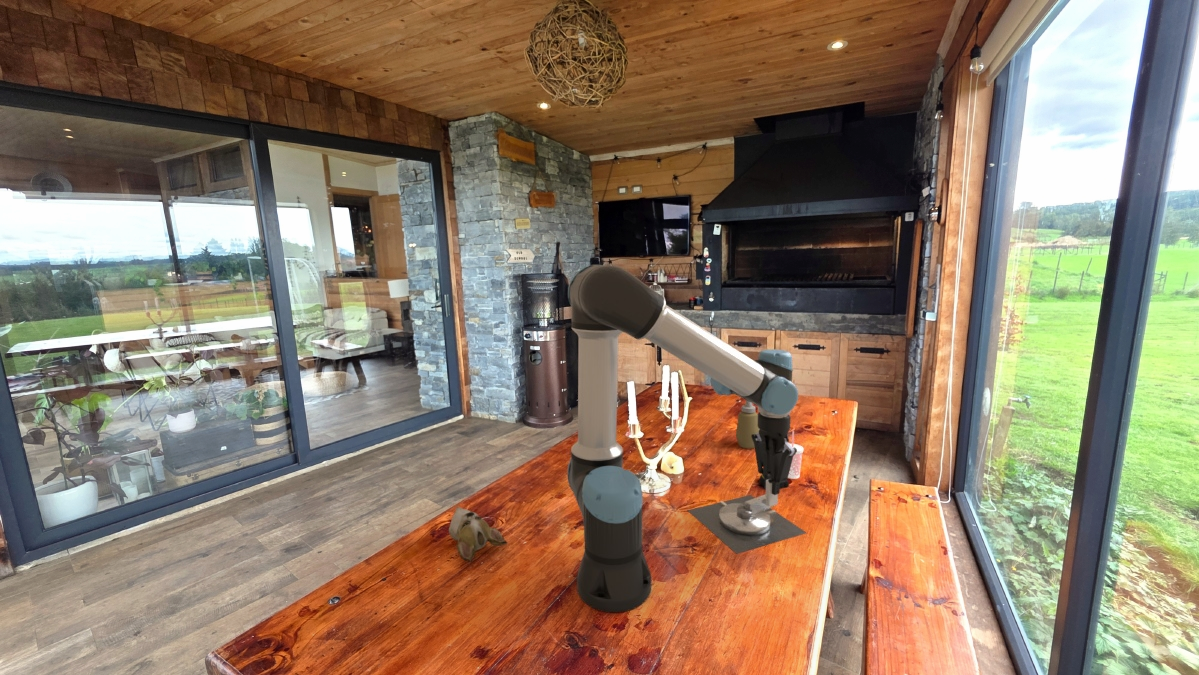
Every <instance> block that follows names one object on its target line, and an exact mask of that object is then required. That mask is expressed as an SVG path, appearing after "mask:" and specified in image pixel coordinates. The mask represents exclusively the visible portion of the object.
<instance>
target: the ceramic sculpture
mask: <svg viewBox="0 0 1199 675" xmlns="http://www.w3.org/2000/svg"><path fill="white" fill-rule="evenodd" d="M448 532H449V535H450V537H451V538H452V539H453V540H455V541H457V543H456V550H457V552H458V554H459V556H460V558H462V560H464V561H466V562H470V563H471V562H472V560H473V559H474V557H475V555H476V551H478V550H481V549H483V548H484V547H486V546H487V543H490V545H492V546H493V547H494V546H495V547H499V546H505V545H508V542H507V540H505V538H504V536H503V535H502V533H501V531H499V530H498V529H497V528H496V527H493V526H492V527H491V526H489V524H488V522H487V521H485V519H484V518H482V517H481V516H479V515H478V514H477V513H476V512H474V511H470V510H468V509H467V508H466V509H465V508H462V507H460V506H457V507H456V509H455V511H454V513H453V516H452V518H451V521H450V524H449V528H448Z"/></svg>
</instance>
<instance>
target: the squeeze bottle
mask: <svg viewBox="0 0 1199 675" xmlns="http://www.w3.org/2000/svg"><path fill="white" fill-rule="evenodd" d="M756 409H757V408H756V405H754V404H753V403H751V402H749V401H747V400H745V403H744V404H743V405H741V411H739V412H738V416H737V425H736V432H735V437H736V438H735V439H737V444H738V445H739V447H741V448H743V449H748V450H749V449H750V450H751V449H755V447H754V442H753V440H752V437H751V435H752V434H757V433H759V428H758V425H757V424H758V413H757V412H756Z"/></svg>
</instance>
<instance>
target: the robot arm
mask: <svg viewBox="0 0 1199 675" xmlns="http://www.w3.org/2000/svg"><path fill="white" fill-rule="evenodd" d="M567 299H568V302H569V305H570V307H571V329H572V331H573V332H574V333H575V334H577V337H578V360H577V362H578V367H577V368H578V371H577V372H578V373H577V374H578V375H577V376H578V378H577V379H578V381H577V382H578V385H577V388H578V389H577V390H578V392H577V395H578V396H577V398H578V399H577V401H578V402H577V407H578V408H577V414H578V415H577V441H576V442H575V443H574V444H573V445H572V446H571V448H570V449H571V450H570V452H571V453H570V460H569V462H568V465H567V473H566V474H567V481H568V482H567V483H568V486H569V488H570V490H571V491H572V494H573V496H574V497H575V500H576V503H577V506H578V509H579V511H580V513H581V516H582V520H583V521H582V522H583V535H584V536H583V537H584V539H583V541H584V542H583V543H584V552H583V556H582V558H581V561H580V565H579V569H578V570H577V575H576V587H577V588H576V589H577V594H578V597H580V599H581V600H582V601H583V602H584V603H585V604H586V605H587V606H590V607H591V608H592V609H595V610H598V611H601V612H605V613H606V612H607V613H622V612H628V611H631V610H634V609H636V608H637V607H639V606H642V604H644V603H645V602H646V601H647V600H648V598H649V597H650V594H651V591H652V573H651V571H650V568H649V566H648V562H647V560H646V557H645V554H644V552H643V502H644V496H643V491H642V484H641V481H640V479H639V478H638V476H637V475H636V474H635V473H634V472H633V471H631V470H629V469H624V468H623V462H624V461H623V460H624V459H623V457H624V454H623V453H624V448H623V447H622V445H620V443H618V442H617V427H618V426H617V423H618V422H617V421H618V420H617V416H618V414H617V413H618V374H619V373H618V366H619V364H618V363H619V362H618V361H619V358H618V357H619V336H620V335H621V334H622V333H625V334H627V335H628V336H630V337H632V338H633V339H636V340H638V341H639V340H643V339H645V340H647V341H649V342H651V343H652V344H654V345H655V346H657V347H659V348H661V349H662V350H664V351H665V352H667V353H668V354H671V355H673V356H674V357H676V358H678V359H679V360H681V361H683V362H684V363H686V364H687V365H689V366H690V367H693V368H694V369H696V370H697V371H699V372H701V373H703V374H704V375H706V376H708V378H710V381H711V382H710V383H711V387H712V389H713V390H714V392H715V393H716V394H717V395H718V396H731V395H733V396H734V395H735V396H737V397H739V398H741V399H743V400H745V401H746V400H747V401H749V402H751V403H752V405H754V406H757V412H758V413H757V414H758V424H757V425H758V428H759V433H757V434H752V435H751V437H752V440H753V442H754V447H755V448H754V451H755V459H756V465H757V466H756V467H757V471H758V473H759V474H761V475H762V474H763V477H764V478H765V481H764V486H763V488H764V490H765V494H766V504H765V505H767V506H769V507H771V506H774V507H775V506H777V505H778V502H779V501H778V498H779V495H780V490H781V489H780V483H781V482H785V481H788V479H789V478H788V475H789V471H790V467H791V463H792V460H793V456H794V455H795V454H796V452H797V449H796V448H795V447H794V448H792V447H791V445H790V444H791V443H790V440H789V435H788V434H789V432H790V429H791V415H790V414H791V412H792V410H794V408H795V407H796V405H797V403H798V400H799V392H798V391H799V390H798V388H797V386H796V385H795V383H793V371H794V369H793V356H792V354H791V353H790V351H787V350H784V349H775V348H774V349H771V348H769V349H762V350H761V351H759V354H758V359H752V358H750V357H749V356H747V355H746V354H744V353H743V352H741V351H740V350H738V349H737V348H735V347H734V346H731V345H730V344H728V343H727V342H725V341H724V340H722V339H721V338H719V337H718V336H716V335H714V334H713V333H711V332H709V331H708V330H706V329H705V328H703V327H702V326H700V325H698V324H697V323H695V322H693V321H692V320H690V319H689V318H688V317H686V316H684V315H683V314H681V313H680V312H678V311H677V310H675V309H673V308H671V307H670V306H669V305H667V301H666V298H665V297H664V296H663V295H661V294H660V293H658V292H657V291H656V290H654V289H653V288H651V287H650V286H648V285H647V284H646V283H644V282H643V281H641V280H640V279H639V278H638V277H636V275H634V274H632V273H631V272H630V271H628V270H626V269H624V268H623V267H621V266H617V265H612V264H610V265H608V264H607V265H605V264H590V265H588V266H585V267H583V268H581V269H579V271H577V272H575V274H574V275H573V277H572V278H571V280H570V281H569V284H568V287H567ZM789 443H790V444H789ZM771 508H772V507H771Z"/></svg>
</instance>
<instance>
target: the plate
mask: <svg viewBox="0 0 1199 675" xmlns="http://www.w3.org/2000/svg"><path fill="white" fill-rule="evenodd" d="M754 498H755V496H753V495H751V494H749V495H745V496H740V497H736V498H732V499H729V500H725V501H723V500H719V502H716V503H712V504H709V505H704V506H700V507H696V508H691V509H688V510H687V512H688V513H689V514H691V516H693V517H694V518H695V519H696V520H697V521H699V522H700V523H701V524H702V525H703V526H704V527H706V528H707V530H709V531H710V533H712V534H713V535H714V536H716V537H717V538H718V539H719V540H720V541H721V542H722V543H723V544H724V545H725V546H726V547H728V549H730V550H731V551H732V552H734V553H735V554H736V555H738V554H741V553H745V552H748V551H751V550H755V549H758V548H762V547H765V546H768V545H772V544H776V543H777V542H778V543H779V542H781V541H785V540H789V539H792V538H794V537H799V536H802V535H805V534H807V532H806V531H804V530H803V529H801V527H799V526H797V525H796V524H795V523H793V522H792V521H791V520H788V519H787V518H785V517H784V516H783V515H781V514H780V513H778V512H777V511H776V510H775V509H772V507H771V508H769V509H766V510H764V511H766V512H767V513H768V514H769V516H770V528H769V529H768V531H766V532H764V533H762V534H758V535H744V534H739V533H735V532H733V531H730V530H728V529H727V528H725V527H724V526H723V525H722V524H721V523H720V520H719V512H720V509H721V508H722V507H724V506H726V505H728V504H733V503H744V504H745V502H746V501H748V500H751V499H754Z"/></svg>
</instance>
